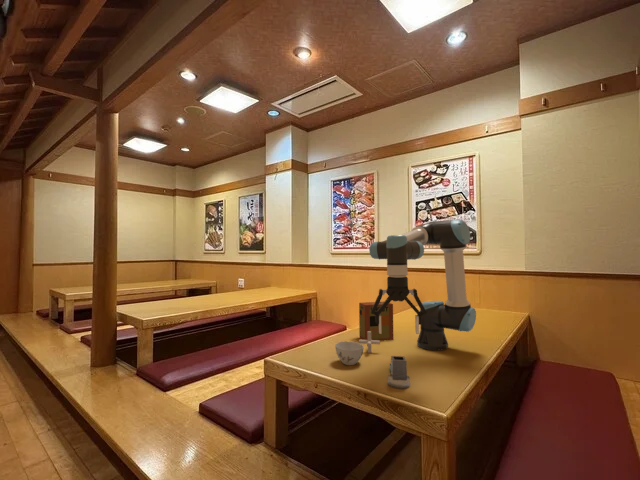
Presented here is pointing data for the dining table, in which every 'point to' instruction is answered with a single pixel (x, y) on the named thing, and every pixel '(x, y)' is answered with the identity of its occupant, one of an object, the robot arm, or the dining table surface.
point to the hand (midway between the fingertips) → (398, 333)
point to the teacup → (349, 352)
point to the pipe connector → (369, 341)
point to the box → (369, 322)
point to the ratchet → (398, 382)
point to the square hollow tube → (398, 368)
